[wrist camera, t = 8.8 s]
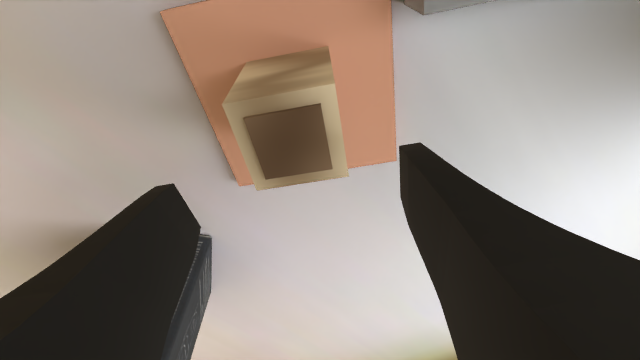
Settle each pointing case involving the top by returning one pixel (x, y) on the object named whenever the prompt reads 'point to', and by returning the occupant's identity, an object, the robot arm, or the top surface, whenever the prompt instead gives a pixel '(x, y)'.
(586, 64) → the top surface
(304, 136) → the label block
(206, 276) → the box
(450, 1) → the tray
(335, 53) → the mat
